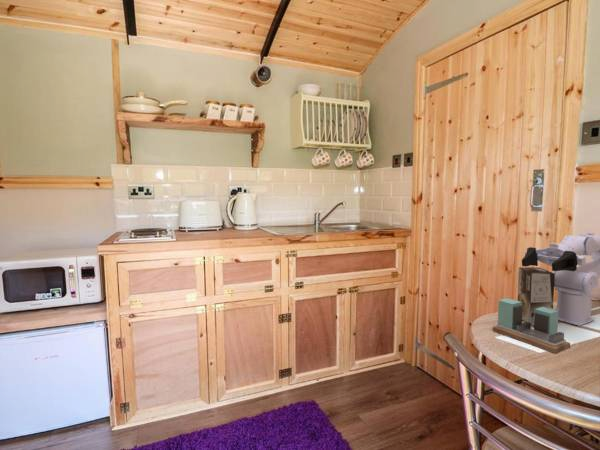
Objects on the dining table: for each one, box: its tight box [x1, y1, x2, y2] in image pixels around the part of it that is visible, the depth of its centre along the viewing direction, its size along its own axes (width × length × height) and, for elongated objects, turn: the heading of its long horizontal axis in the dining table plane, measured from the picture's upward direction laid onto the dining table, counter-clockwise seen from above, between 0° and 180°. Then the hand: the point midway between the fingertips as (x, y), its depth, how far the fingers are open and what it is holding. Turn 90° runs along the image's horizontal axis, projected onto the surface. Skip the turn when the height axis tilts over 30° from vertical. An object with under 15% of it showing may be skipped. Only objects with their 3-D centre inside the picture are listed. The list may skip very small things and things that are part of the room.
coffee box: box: [517, 266, 555, 327], centre depth 104 cm, size 9×6×16 cm
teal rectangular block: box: [533, 307, 559, 335], centre depth 94 cm, size 5×4×7 cm
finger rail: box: [492, 297, 571, 354], centre depth 92 cm, size 7×16×9 cm, turn 27°
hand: (537, 265), depth 94 cm, fingers open, 7 cm apart
